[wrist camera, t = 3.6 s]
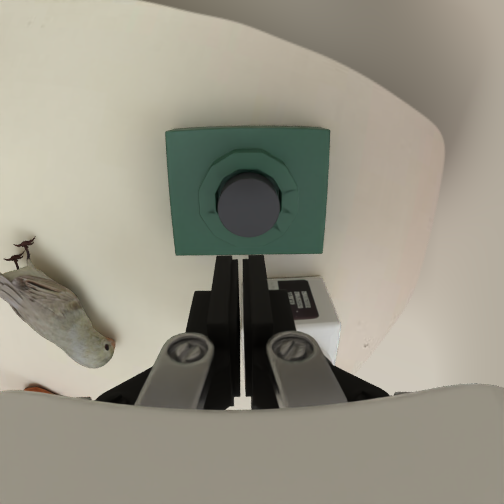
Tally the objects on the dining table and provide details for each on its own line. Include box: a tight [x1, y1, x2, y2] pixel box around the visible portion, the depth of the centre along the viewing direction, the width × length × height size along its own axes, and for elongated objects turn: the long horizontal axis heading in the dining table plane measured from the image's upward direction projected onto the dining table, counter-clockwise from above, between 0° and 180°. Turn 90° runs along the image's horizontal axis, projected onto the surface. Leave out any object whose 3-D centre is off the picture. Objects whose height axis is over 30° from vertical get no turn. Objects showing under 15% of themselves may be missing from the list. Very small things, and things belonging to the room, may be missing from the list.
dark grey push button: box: [218, 172, 280, 237], centre depth 21 cm, size 4×4×2 cm
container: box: [241, 276, 341, 410], centre depth 26 cm, size 8×8×13 cm
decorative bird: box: [0, 236, 115, 368], centre depth 28 cm, size 5×16×8 cm, turn 35°
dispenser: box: [165, 126, 330, 255], centre depth 24 cm, size 12×10×5 cm
